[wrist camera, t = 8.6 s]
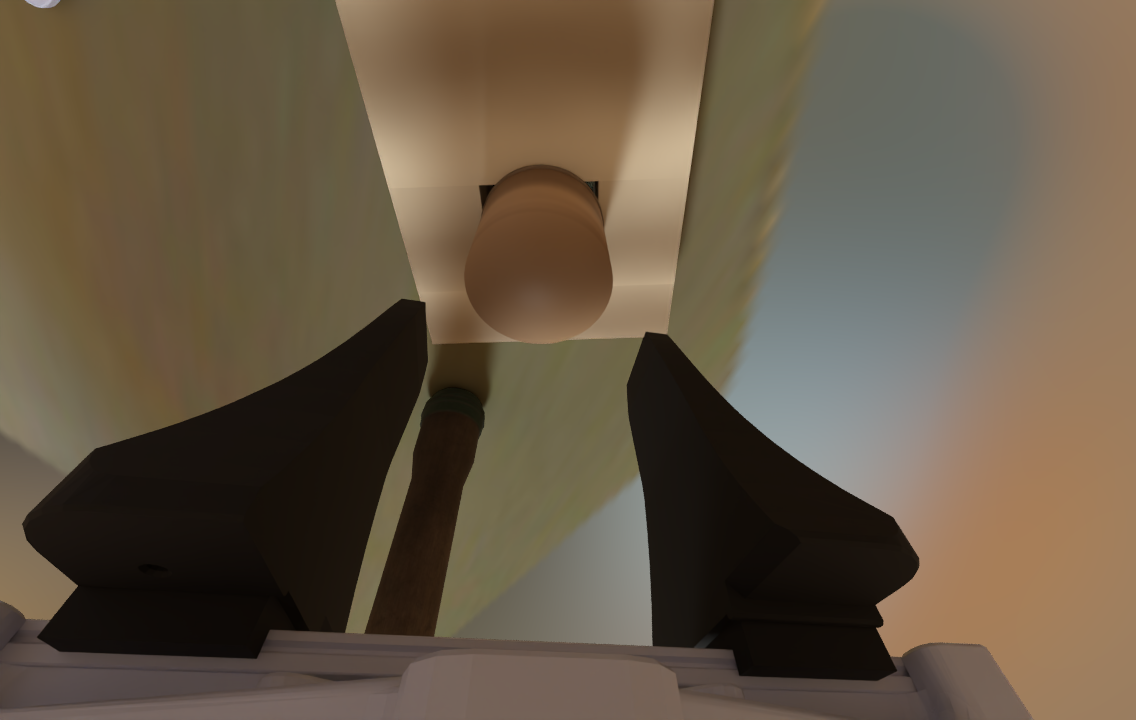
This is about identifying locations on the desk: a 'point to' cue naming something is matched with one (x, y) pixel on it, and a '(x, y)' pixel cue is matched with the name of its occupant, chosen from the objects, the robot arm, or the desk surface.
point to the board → (534, 131)
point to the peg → (540, 257)
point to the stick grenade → (428, 516)
